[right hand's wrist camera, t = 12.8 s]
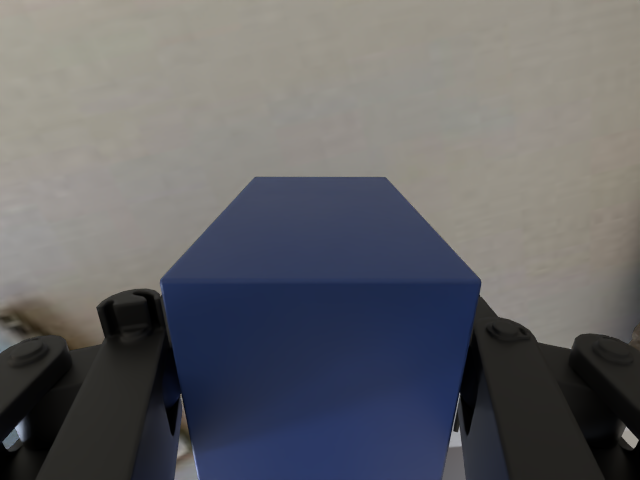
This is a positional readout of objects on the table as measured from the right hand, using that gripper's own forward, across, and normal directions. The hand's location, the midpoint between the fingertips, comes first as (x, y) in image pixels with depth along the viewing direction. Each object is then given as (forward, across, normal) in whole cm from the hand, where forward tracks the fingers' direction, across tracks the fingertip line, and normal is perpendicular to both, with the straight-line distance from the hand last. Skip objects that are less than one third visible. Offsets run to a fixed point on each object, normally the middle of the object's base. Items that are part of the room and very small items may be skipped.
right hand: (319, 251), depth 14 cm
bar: (+1, 0, -12) cm, 12 cm away
